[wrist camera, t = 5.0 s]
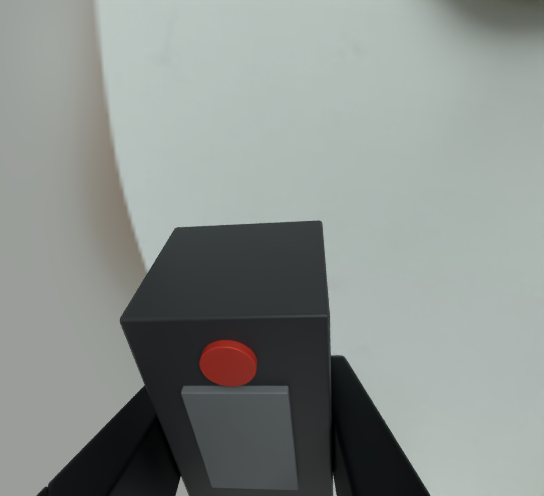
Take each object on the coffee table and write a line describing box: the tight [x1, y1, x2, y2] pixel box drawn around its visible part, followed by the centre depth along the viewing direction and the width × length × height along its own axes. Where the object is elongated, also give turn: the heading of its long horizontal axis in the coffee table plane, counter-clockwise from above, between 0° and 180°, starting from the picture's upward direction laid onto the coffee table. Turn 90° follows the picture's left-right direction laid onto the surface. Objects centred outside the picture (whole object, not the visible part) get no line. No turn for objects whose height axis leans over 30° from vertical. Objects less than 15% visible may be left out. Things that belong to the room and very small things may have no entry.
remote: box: [120, 221, 333, 496], centre depth 8 cm, size 7×3×3 cm, turn 5°
